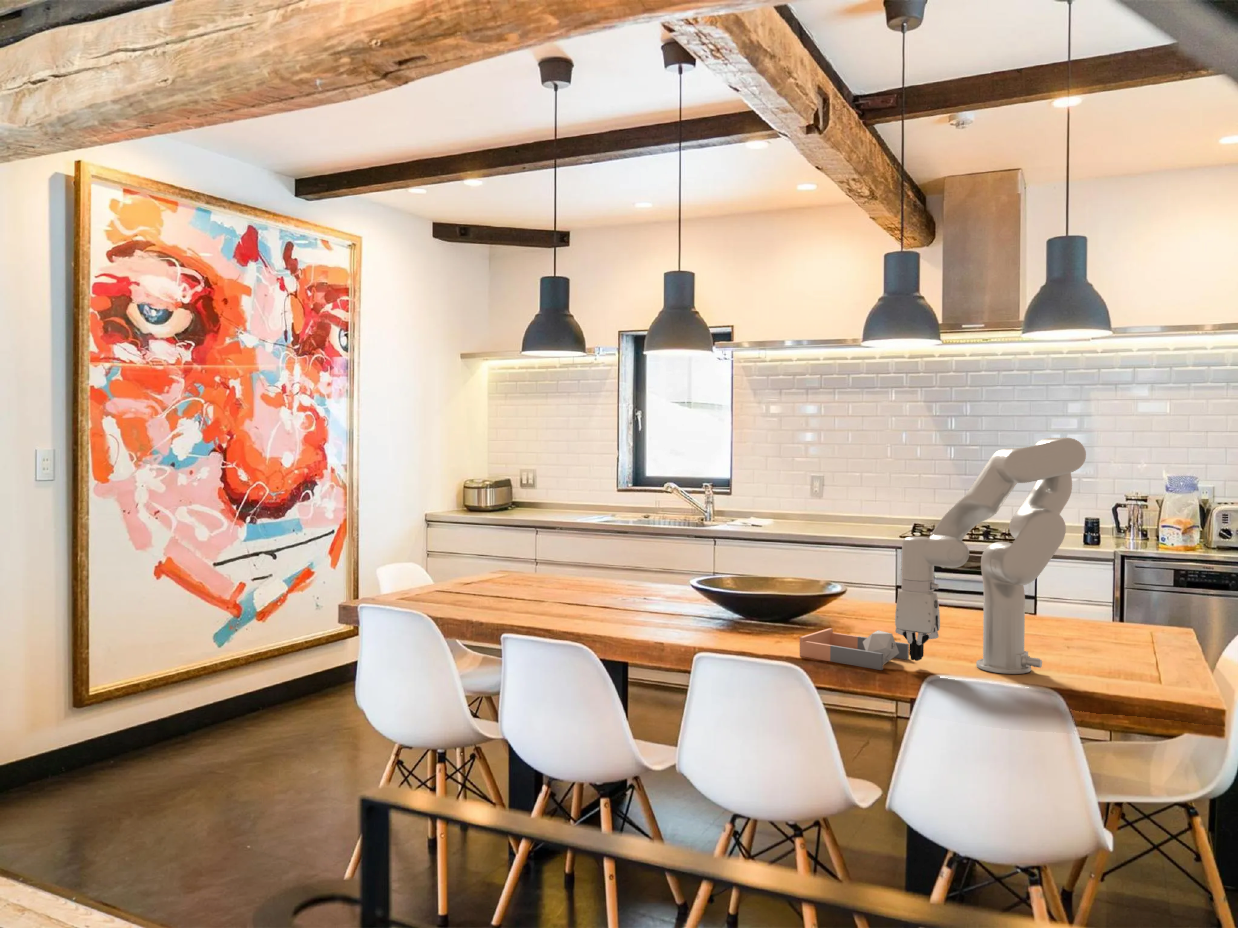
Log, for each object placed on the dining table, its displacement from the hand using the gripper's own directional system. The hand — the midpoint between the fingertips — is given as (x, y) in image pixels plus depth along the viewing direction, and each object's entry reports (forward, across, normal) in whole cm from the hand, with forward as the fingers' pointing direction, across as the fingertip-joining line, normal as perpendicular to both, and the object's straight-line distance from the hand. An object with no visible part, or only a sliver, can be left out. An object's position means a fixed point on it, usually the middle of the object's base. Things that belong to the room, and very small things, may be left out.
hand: (916, 659), depth 227 cm
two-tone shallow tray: (+2, +17, 0) cm, 17 cm away
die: (+3, +10, 0) cm, 10 cm away
